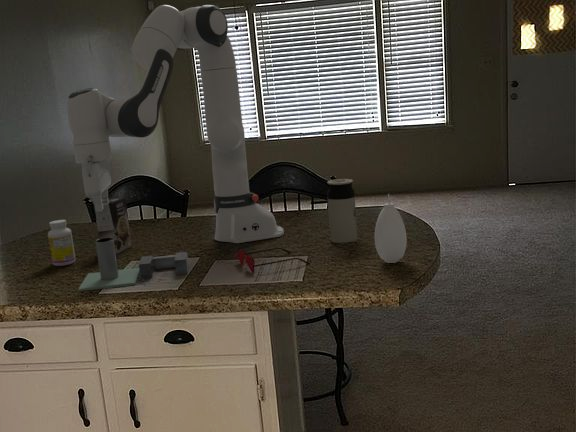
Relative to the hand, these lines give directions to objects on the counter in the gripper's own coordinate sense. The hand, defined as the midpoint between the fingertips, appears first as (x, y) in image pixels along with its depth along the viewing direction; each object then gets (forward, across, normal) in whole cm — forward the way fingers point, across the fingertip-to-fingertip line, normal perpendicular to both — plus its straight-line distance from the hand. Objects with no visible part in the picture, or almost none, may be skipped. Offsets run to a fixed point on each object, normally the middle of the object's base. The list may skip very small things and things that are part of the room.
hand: (102, 207), depth 158 cm
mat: (+19, 0, +1) cm, 19 cm away
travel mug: (+21, +14, -65) cm, 70 cm away
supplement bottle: (+19, +24, +18) cm, 36 cm away
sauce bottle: (+22, -14, -71) cm, 75 cm away
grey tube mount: (+20, +3, -13) cm, 24 cm away
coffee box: (+19, +34, +4) cm, 39 cm away
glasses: (+21, -2, -42) cm, 47 cm away
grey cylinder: (+19, 0, +1) cm, 19 cm away
